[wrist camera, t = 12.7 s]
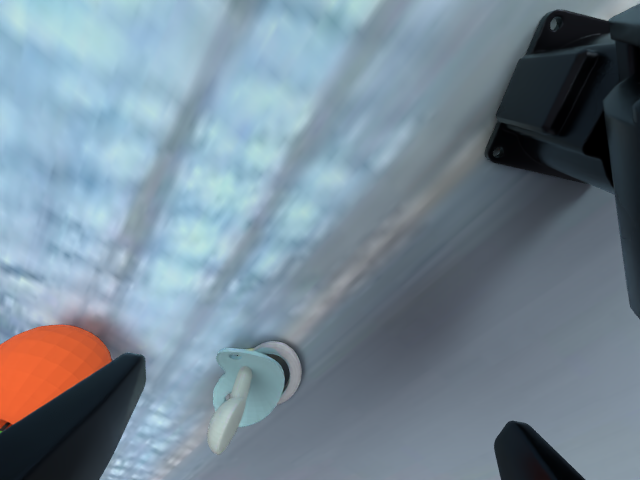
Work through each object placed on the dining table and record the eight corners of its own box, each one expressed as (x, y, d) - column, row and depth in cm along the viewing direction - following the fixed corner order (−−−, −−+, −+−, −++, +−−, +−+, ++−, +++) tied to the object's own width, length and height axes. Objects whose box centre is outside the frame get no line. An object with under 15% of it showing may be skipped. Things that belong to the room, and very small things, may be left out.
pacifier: (310, 336, 23) (223, 322, 23) (306, 420, 17) (191, 404, 17) (293, 405, 26) (217, 394, 26) (285, 495, 21) (187, 483, 20)
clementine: (149, 385, 26) (88, 488, 19) (63, 386, 26) (-25, 486, 20) (116, 301, 22) (28, 393, 16) (17, 303, 22) (-108, 393, 16)
